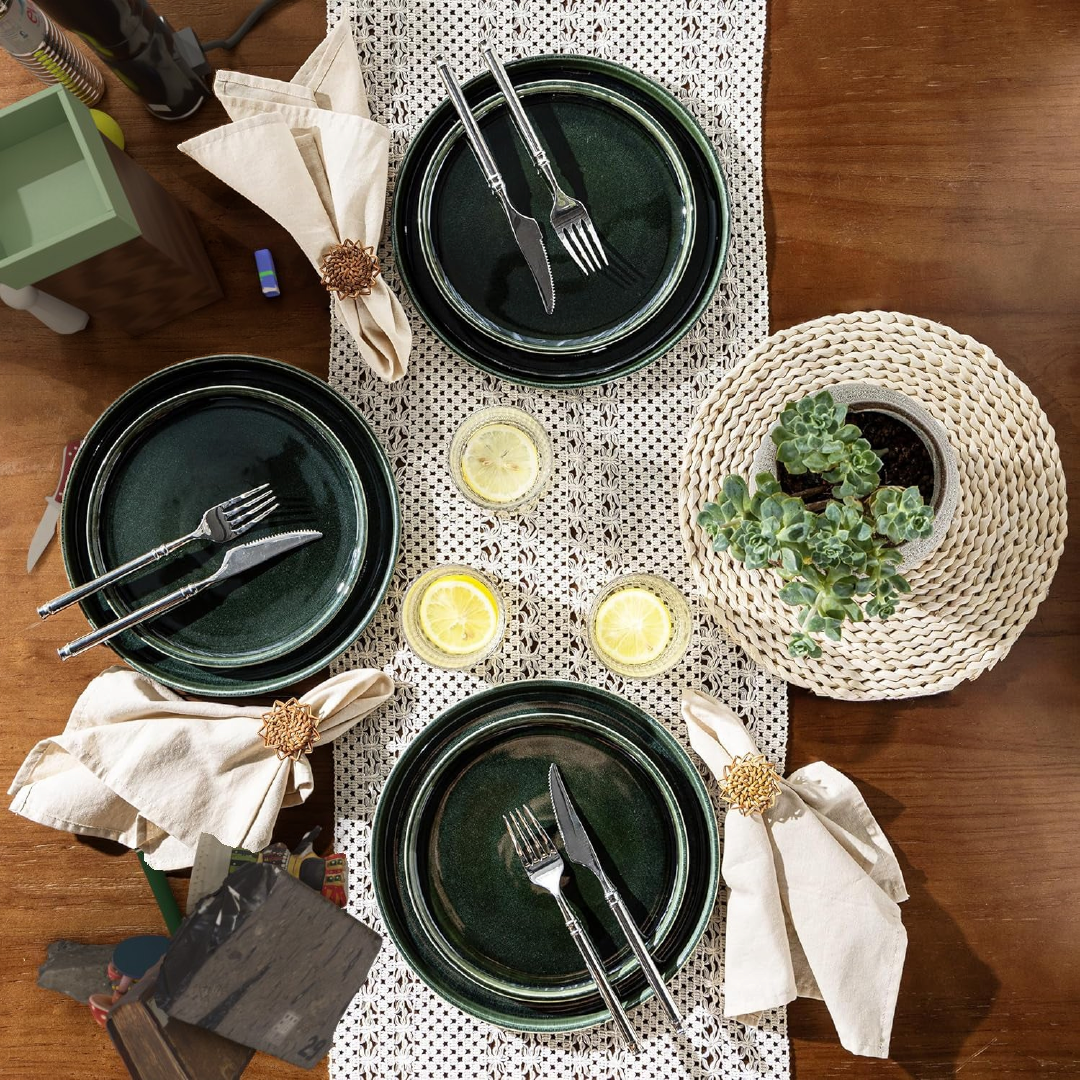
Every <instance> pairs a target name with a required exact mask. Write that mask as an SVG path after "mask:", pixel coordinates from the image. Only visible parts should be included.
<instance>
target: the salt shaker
mask: <svg viewBox="0 0 1080 1080" xmlns="http://www.w3.org/2000/svg"><path fill="white" fill-rule="evenodd" d="M0 299H1V300H2V301H3V302H4V303H5V305H7V306H9V307H10V308H12V309H15V310H17V311H18V310H20V311H21V310H25V311H28V312H29V313H30V314H31V315H33V317H35V318H36V319H38V320H39V321H40V322H41V323H43V324H44V325H45V326H46V327H48V328H49V329H50V330H51V331H54V332H55V333H58V334H60V335H72V334H74V333H76V332H79V331H82V330H85V329H86V327H87V324H88V322H89V320H90V314H88V313H86V312H84V311H82V310H80V309H78V308H76V307H74V306H71V305H69V304H67V303H65V302H63V301H61V300H59V299H57V298H55V297H53V296H51V295H49V294H46V293H44V292H42V291H40V290H38V289H36V288H34V287H32V286H30V285H28V286H26V287H24V288H22V289H19V290H15V289H13V288H11V287H8V286H6V285H4V284H2V283H0Z"/></svg>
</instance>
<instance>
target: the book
mask: <svg viewBox="0 0 1080 1080" xmlns="http://www.w3.org/2000/svg"><path fill="white" fill-rule="evenodd" d="M165 956H166V953H165V954H164V955H163V956H161V958H160V960H159V961H158V962H157V963H156V964H155V965H154V966H153V967H151V968H150V969H148V970H147V971H146V973H145V974H144V976H143V977H142V978H141V979H140V980H139V981H138V982H137V983H136V984H134V985H133V986H132V987H131V988H130V989H129V990H128V992H127V993H126V994H125V995H124V996H123V997H122V998H121V999H120V1000H119V1001H118V1002H117V1003H115V1004H114V1005H113V1006H112V1007H111V1008H110V1010H109V1011H108V1013H107V1017H106V1028H105V1030H106V1032H107V1035H108V1037H109V1040H110V1042H111V1045H112V1046H113V1048H114V1050H115V1052H116V1053H117V1055H118V1056H119V1057H120V1058H121V1060H122V1062H123V1064H124V1066H125V1069H126V1070H127V1073H128V1075H129V1076H130V1079H131V1080H240V1079H241V1077H242V1075H243V1074H244V1072H245V1070H246V1069H247V1067H248V1066H249V1064H250V1063H251V1061H252V1060H253V1058H254V1056H255V1054H256V1053H257V1050H255V1049H254V1048H251V1047H248V1046H245V1045H242V1044H240V1043H238V1042H235V1041H232V1040H230V1039H227V1038H225V1037H223V1036H221V1035H218V1034H216V1033H215V1032H213V1031H209V1030H208V1029H205V1028H200V1027H199V1026H197V1025H193V1024H190V1023H187V1022H185V1021H181V1020H178V1019H177V1018H175V1017H172V1016H168V1015H167V1014H165V1013H164V1011H163V1010H162V1009H159V1008H157V1006H156V1003H155V1000H154V985H155V982H156V979H157V977H158V975H159V972H160V966H161V964H162V962H163V960H164V957H165Z"/></svg>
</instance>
